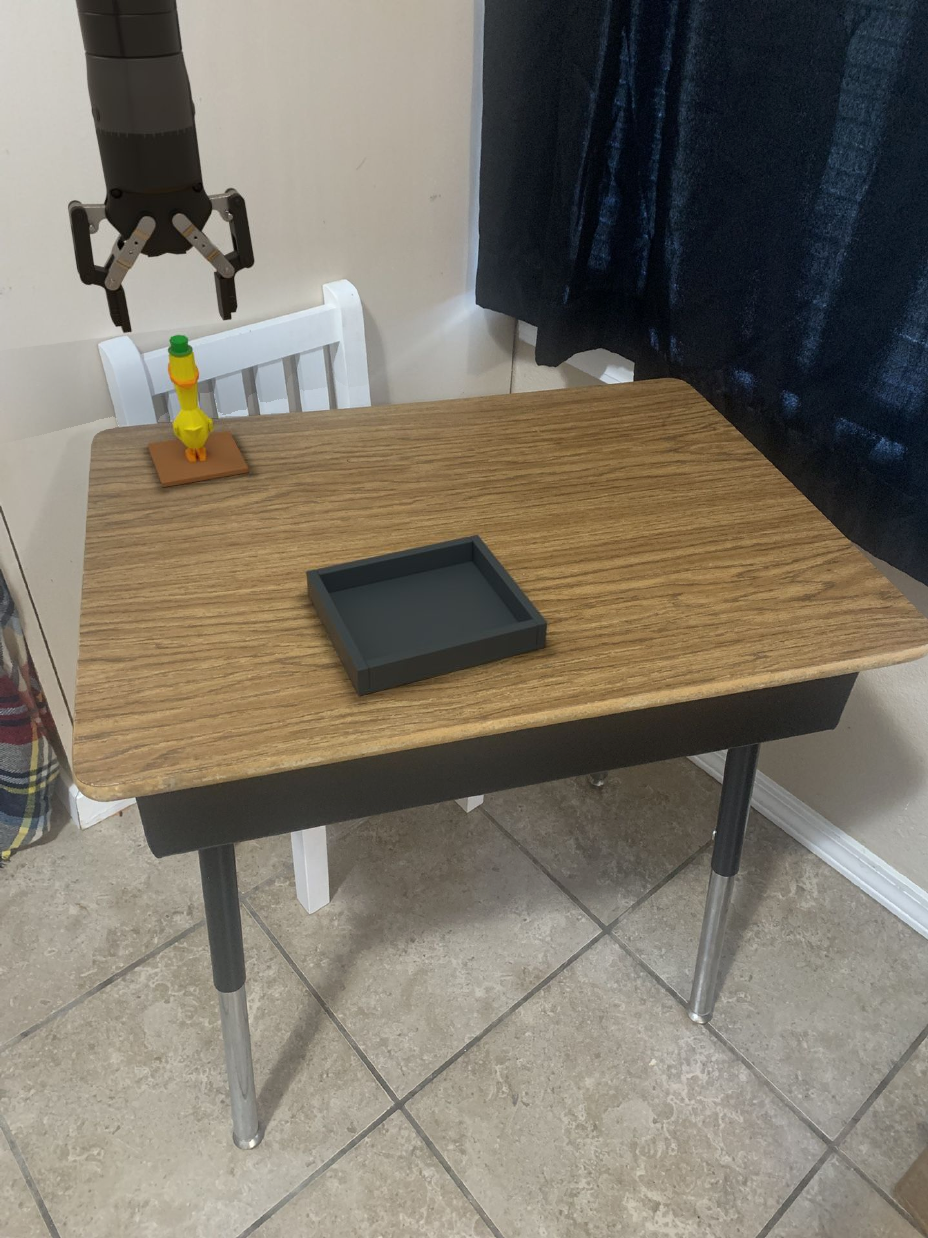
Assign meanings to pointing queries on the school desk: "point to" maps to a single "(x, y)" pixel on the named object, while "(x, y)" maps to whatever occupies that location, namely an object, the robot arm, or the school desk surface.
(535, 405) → the school desk surface
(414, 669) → the tray
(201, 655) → the school desk surface
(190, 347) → the toy figure
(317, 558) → the school desk surface
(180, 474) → the coaster
